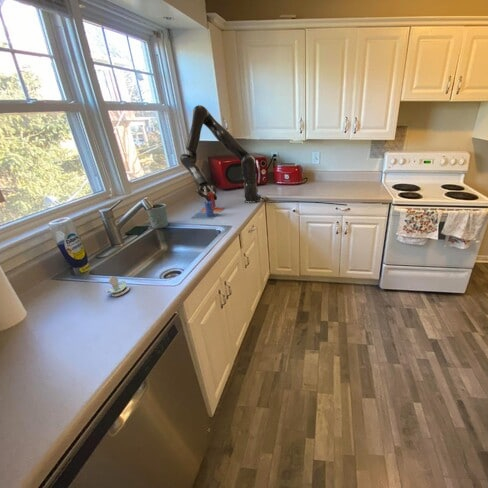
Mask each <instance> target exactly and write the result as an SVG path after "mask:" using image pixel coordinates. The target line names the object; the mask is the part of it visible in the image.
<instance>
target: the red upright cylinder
mask: <svg viewBox="0 0 488 488" xmlns="http://www.w3.org/2000/svg"><path fill="white" fill-rule="evenodd" d="M207 195H208V197H209V199H210V201H212V204H213V208H214V207H216V208H217V206H216V200H215V198H214V193H209V192H207Z"/></svg>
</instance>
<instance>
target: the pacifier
mask: <svg viewBox="0 0 488 488" xmlns="http://www.w3.org/2000/svg"><path fill="white" fill-rule="evenodd" d="M108 283H109V284H110V286H111V287H112V288H111V289H107V290H105V291H104V292H105V293H107V294H111V296H112V297H119V296H122V295H124V294H125V293H127V292H128V291H129V290H130V289H131V288H130V286H129V285H127V281H125V280H121V281H119V279H118V277H116V276H114V275H113V276H111V277H109V279H108Z"/></svg>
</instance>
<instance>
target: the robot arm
mask: <svg viewBox="0 0 488 488" xmlns="http://www.w3.org/2000/svg"><path fill="white" fill-rule="evenodd" d="M203 126H205V127H206V128H208V130H209V131H210V132H211V133H212V135H213V136H214V138H215V139H216V140H217V141H218V142H219V143H220V144H221V145H222V147H224V148H225V149H227V150H228V151H229V152H230V153H232V154H234V155H235V156H236V157H237V158H238V160H240V162H241V173H242V179H243V192H244V202H245V203H247V204H254V203H257V202H259V201H260V200H263V201H264V202H265V203H268V204H269V203H270V204H273V203H274V204H284V203H285V204H286V203H288V204H290V203H292V204H294V203H301V204H302V203H304V204H305V203H306V204H307V203H308V204H325V205H336V206H348V204H346V203H335V202H324V201H305V200H303V201H301V200H300V201H297V200H295V201H294V200H293V201H292V200H291V201H288V200H287V201H286V200H283V201H275V200H274V201H268V200H266V199H265V198H264V197H262V196H261V194H259V190H258V189H259V188H258V186H257V173H256V158H255V157H254V156H253V155H252V154H250V153H249V152H248V151H247V150H246V149H244V147H243V146H242V145H241V143H239V141H238V140H237V139H236V138H235V137H234V136H233V135H232V134H231V133H230V132H229V130H227V128H225V127H224V126H223V125H222V124H220V123H219V122H218V121H217V120H216V119H215V118H214V116H212V114H211V113H210V111H209V110H208V108H206V107H205V106H203V105H200V104H198V105H196V106H195V107H193V110H192V120H191V127H190V130H189V134H188V138H187V141H186V145H185V149H186V150H187V151H188V153H182V154H181V155H180V156H179V161H180V163H181V164H182V166H183V167H184V168H185V169H186V170H187V172H189V173H190V176H191V177H192V179H193V181H194V183H195V184H196V186H197V188H196V189H195V192H196V193H197V194H198V195H199V196H200V197H201V198H205V200H206V202H207V201H210V199H209V197H208V195H207V194H208V193H214V198H215V201H217V200H218V196H217V193H218V191H217V188H216V185H215V184H214V185H211V184H210V183H209V181H208V179H207V177H206V176H205V174H204V172H202V170H201V168H200V167H199V166H198V165H197V164H196V163H197V159H198V157H197V156H198V148H199V144H200V140H201V133H202V128H203Z"/></svg>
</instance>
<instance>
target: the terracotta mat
mask: <svg viewBox="0 0 488 488" xmlns="http://www.w3.org/2000/svg"><path fill="white" fill-rule="evenodd" d="M224 209H225V207H217V206H216V207H214V208H213V211H214V213H220V212H221V211H222V210H224ZM201 212H206V209H205V207H204V208H203V209H201Z"/></svg>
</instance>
